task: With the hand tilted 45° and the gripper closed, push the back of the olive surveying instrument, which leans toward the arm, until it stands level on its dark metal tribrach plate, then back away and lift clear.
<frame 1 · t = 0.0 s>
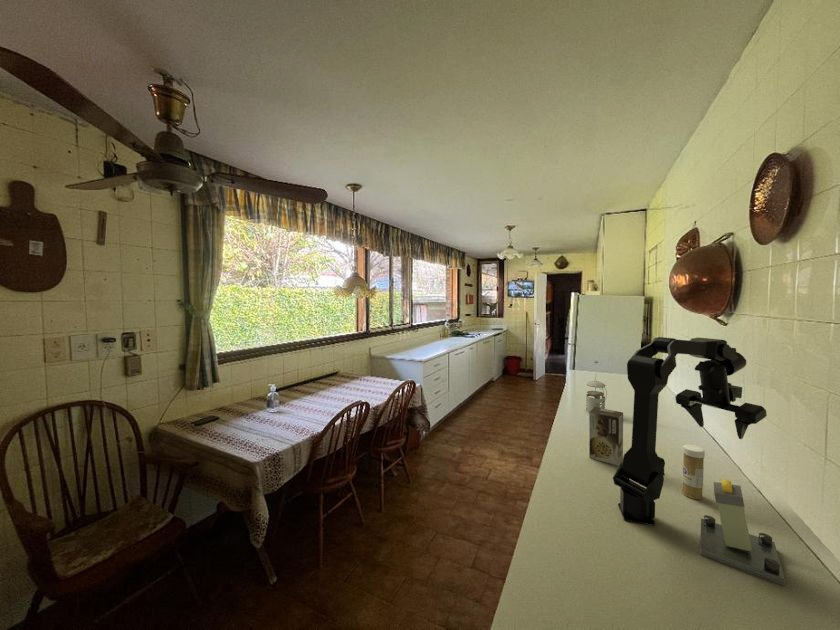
hand: (720, 432, 94), 15 cm above the counter, tool pointing down, fingers open, 9 cm apart
tribrach plate: (737, 551, 70), on the counter
sprinkles bottle: (692, 496, 90), on the counter
coffee box: (605, 459, 111), on the counter
french press: (596, 413, 154), on the counter
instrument: (731, 512, 70), point 8 cm above the counter, hinge at -10.0°
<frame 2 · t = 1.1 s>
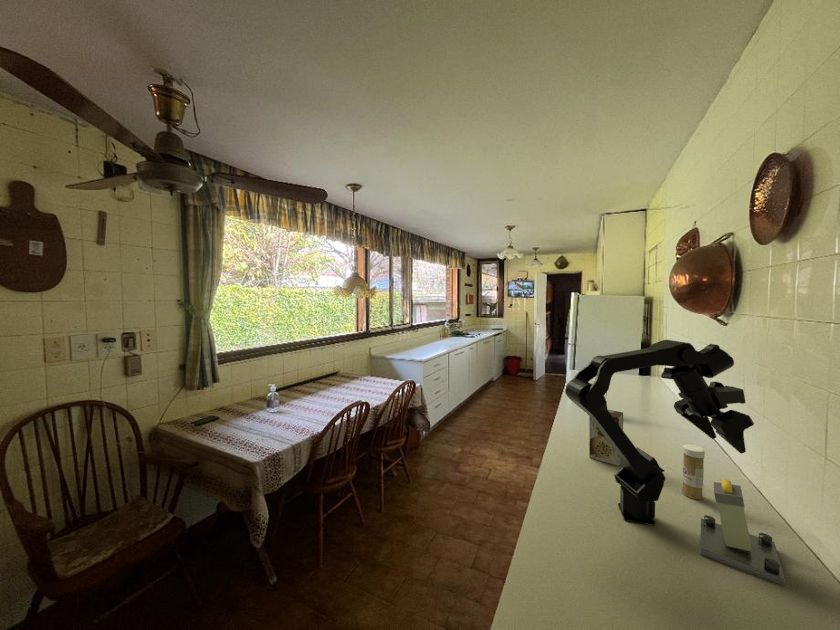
hand: (727, 444, 80), 18 cm above the counter, tool tilted 30°, fingers open, 9 cm apart
nothing on the counter moved.
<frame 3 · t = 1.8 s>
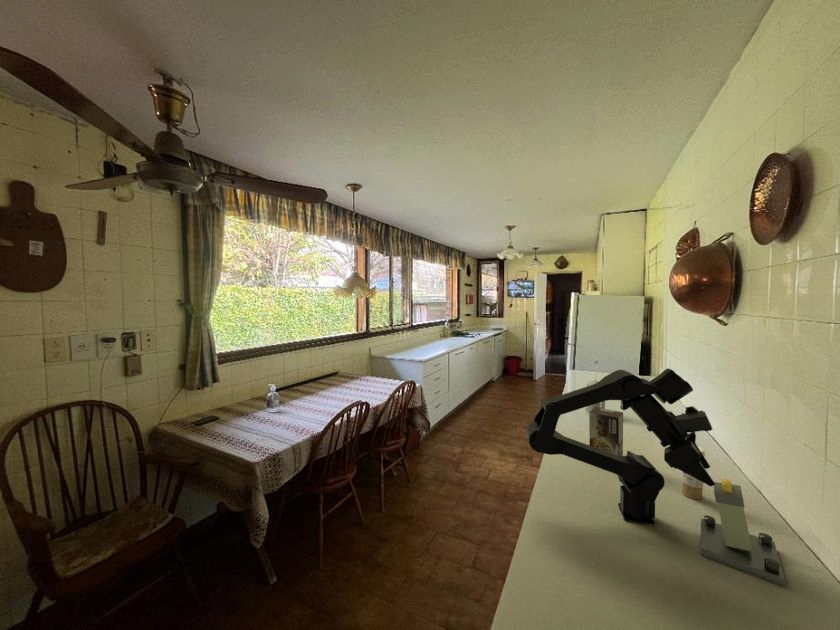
hand: (710, 476, 74), 14 cm above the counter, tool tilted 40°, fingers open, 9 cm apart
nothing on the counter moved.
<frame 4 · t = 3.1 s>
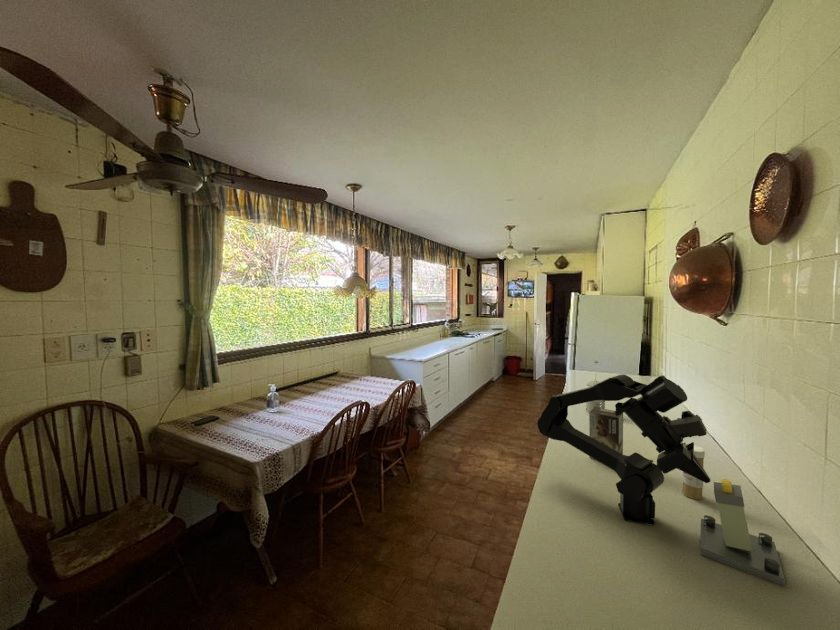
hand: (708, 481, 73), 14 cm above the counter, tool tilted 45°, fingers closed
nothing on the counter moved.
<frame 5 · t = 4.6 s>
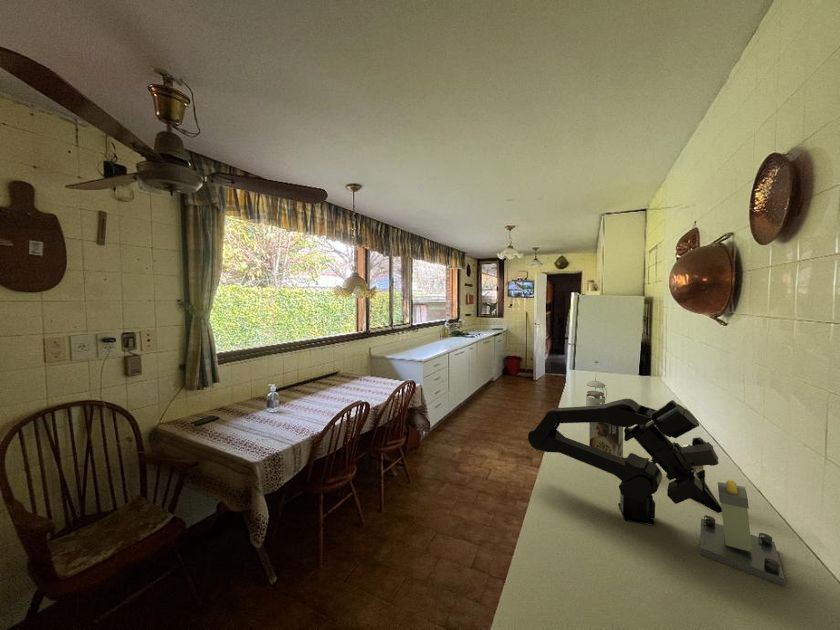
hand: (720, 511, 71), 8 cm above the counter, tool tilted 45°, fingers closed, pressing on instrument
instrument: (734, 512, 70), point 8 cm above the counter, hinge at -6.1°, touching gripper
everything else where it was.
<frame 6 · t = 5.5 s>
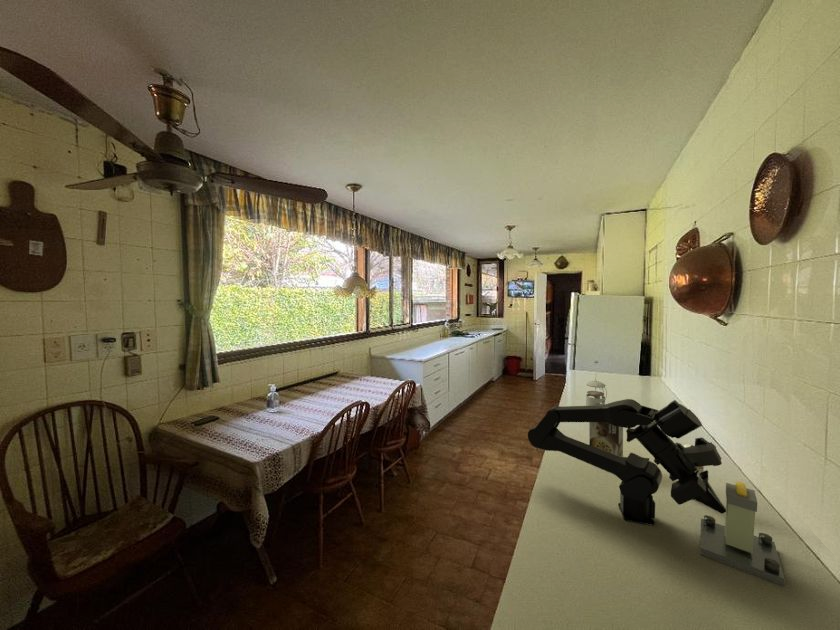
hand: (724, 512, 71), 8 cm above the counter, tool tilted 45°, fingers closed
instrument: (739, 513, 70), point 8 cm above the counter, hinge at 1.0°
everything else where it was.
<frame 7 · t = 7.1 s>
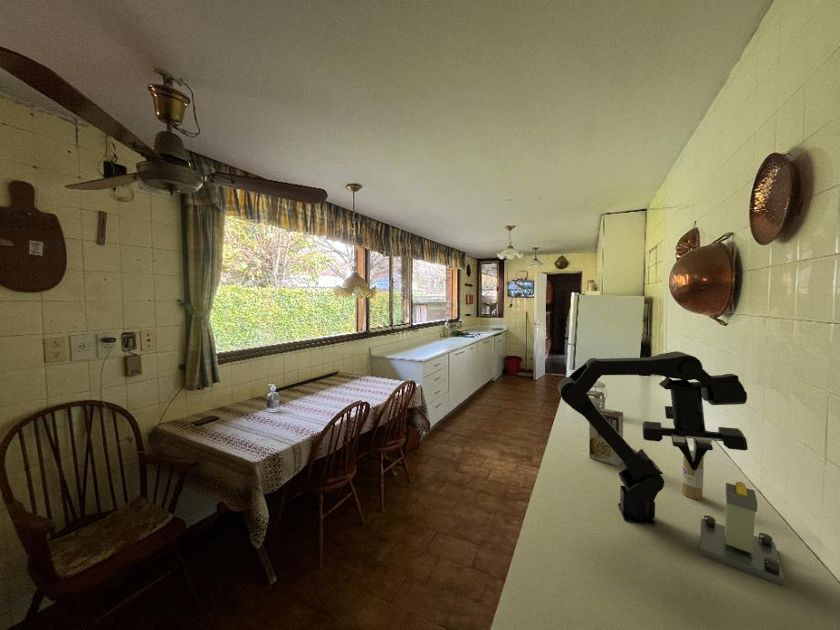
hand: (694, 469, 78), 13 cm above the counter, tool pointing down, fingers closed
nothing on the counter moved.
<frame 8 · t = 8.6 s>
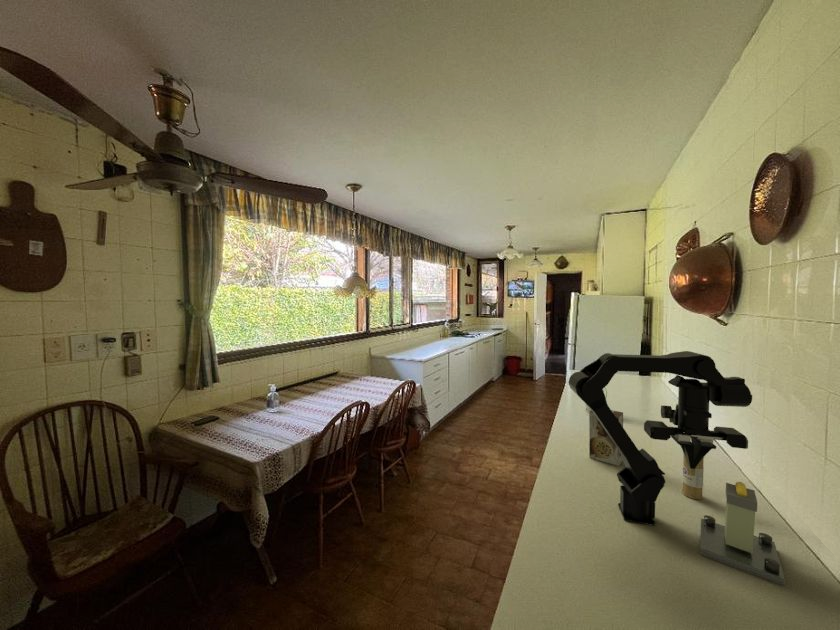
hand: (691, 468, 80), 13 cm above the counter, tool pointing down, fingers closed
nothing on the counter moved.
at the end: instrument at +1° (first picture: -10°); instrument tilted 1° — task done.
